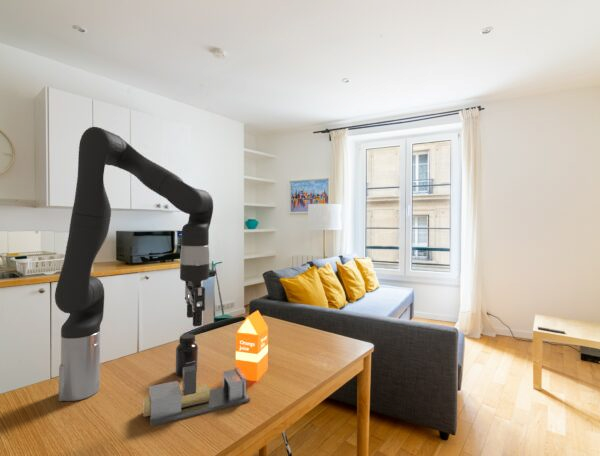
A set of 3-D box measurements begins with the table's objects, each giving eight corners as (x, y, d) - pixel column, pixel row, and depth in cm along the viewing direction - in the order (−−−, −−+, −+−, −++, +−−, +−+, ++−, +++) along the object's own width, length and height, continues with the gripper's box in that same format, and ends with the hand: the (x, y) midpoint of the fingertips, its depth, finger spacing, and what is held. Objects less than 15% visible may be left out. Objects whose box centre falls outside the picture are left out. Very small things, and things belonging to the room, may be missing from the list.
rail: (150, 426, 77) (151, 399, 77) (148, 407, 85) (149, 383, 85) (249, 401, 89) (250, 378, 89) (240, 386, 97) (240, 365, 97)
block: (143, 416, 79) (144, 380, 79) (143, 409, 82) (143, 374, 82) (209, 401, 87) (210, 367, 86) (206, 394, 90) (207, 362, 90)
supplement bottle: (190, 378, 101) (190, 340, 101) (171, 376, 103) (171, 339, 103) (201, 369, 108) (201, 333, 108) (183, 366, 110) (183, 332, 109)
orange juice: (267, 369, 109) (268, 310, 109) (257, 381, 100) (258, 317, 100) (246, 366, 111) (247, 308, 111) (234, 378, 102) (235, 315, 102)
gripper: (176, 259, 92) (175, 316, 92) (185, 265, 79) (184, 331, 80) (203, 258, 95) (202, 313, 96) (215, 264, 83) (214, 327, 83)
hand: (194, 321), depth 88 cm, fingers open, 8 cm apart
